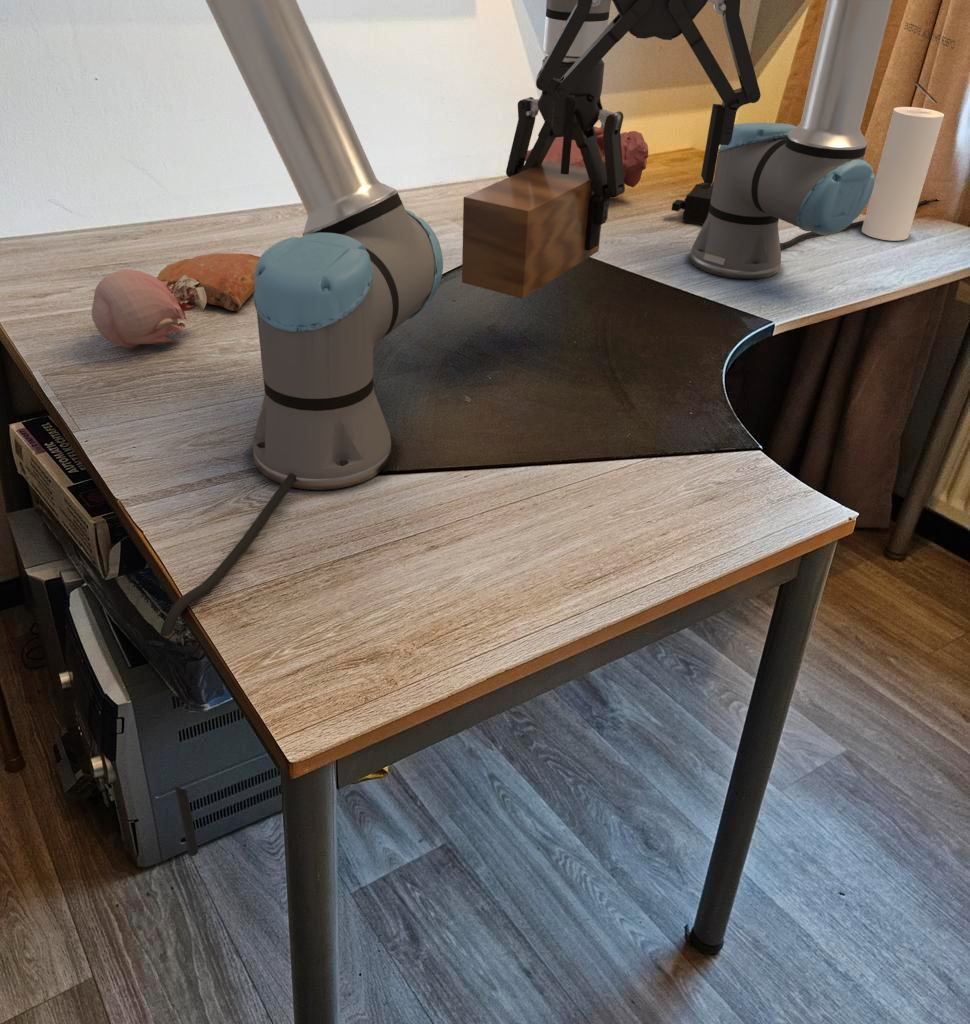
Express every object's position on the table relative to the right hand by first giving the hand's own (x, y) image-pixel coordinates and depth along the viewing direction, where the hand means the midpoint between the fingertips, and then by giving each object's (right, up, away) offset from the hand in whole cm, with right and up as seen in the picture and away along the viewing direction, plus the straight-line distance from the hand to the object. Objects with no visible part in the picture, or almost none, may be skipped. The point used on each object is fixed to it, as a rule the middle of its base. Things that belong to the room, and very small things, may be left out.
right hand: (559, 239), depth 129 cm
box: (-4, -5, -4) cm, 7 cm away
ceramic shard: (-51, -3, +17) cm, 54 cm away
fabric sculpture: (+8, +25, +63) cm, 68 cm away
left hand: (+4, -4, -37) cm, 37 cm away
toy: (+36, +26, +67) cm, 80 cm away
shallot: (-55, -13, +2) cm, 57 cm away
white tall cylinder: (+66, +17, +56) cm, 88 cm away
